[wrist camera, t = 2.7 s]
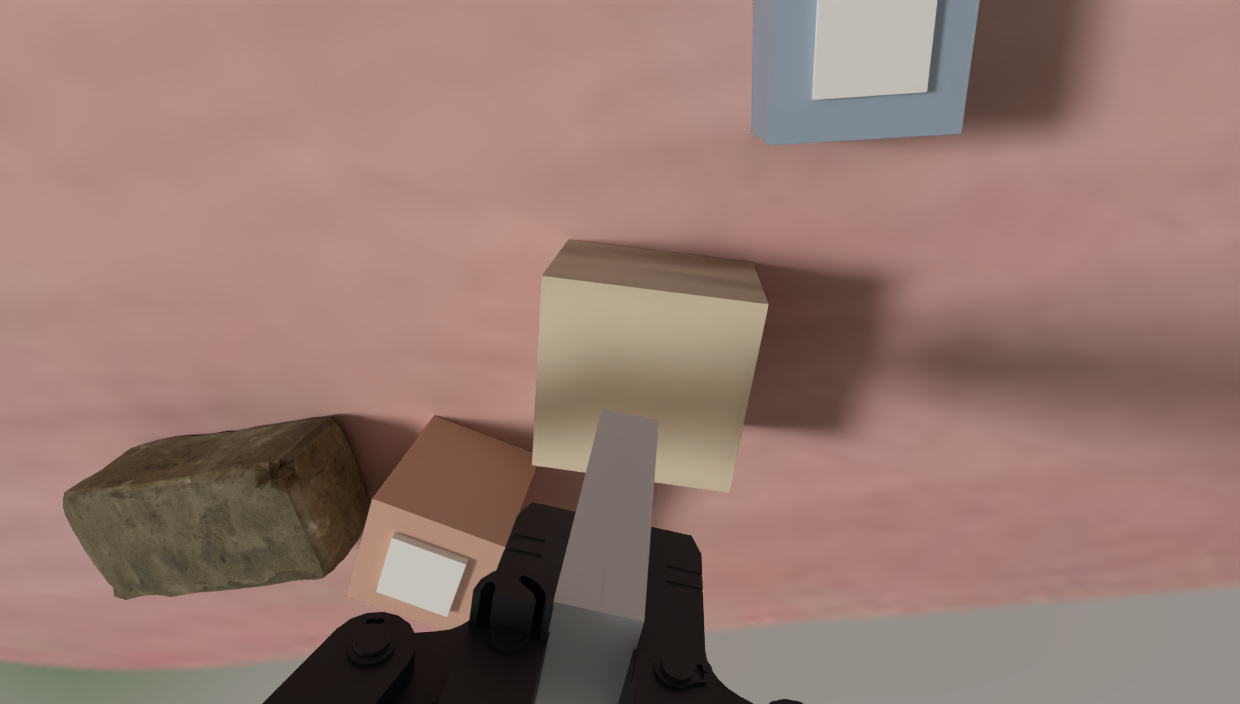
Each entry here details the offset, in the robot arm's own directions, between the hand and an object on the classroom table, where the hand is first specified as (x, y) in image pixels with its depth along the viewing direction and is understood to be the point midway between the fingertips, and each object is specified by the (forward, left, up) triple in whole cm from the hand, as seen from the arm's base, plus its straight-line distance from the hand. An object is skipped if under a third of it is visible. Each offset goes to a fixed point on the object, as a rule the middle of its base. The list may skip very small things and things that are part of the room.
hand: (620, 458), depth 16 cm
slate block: (-11, +4, -9) cm, 15 cm away
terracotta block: (+9, -6, -9) cm, 14 cm away
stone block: (+11, -16, -10) cm, 22 cm away
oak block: (0, 0, -10) cm, 10 cm away
